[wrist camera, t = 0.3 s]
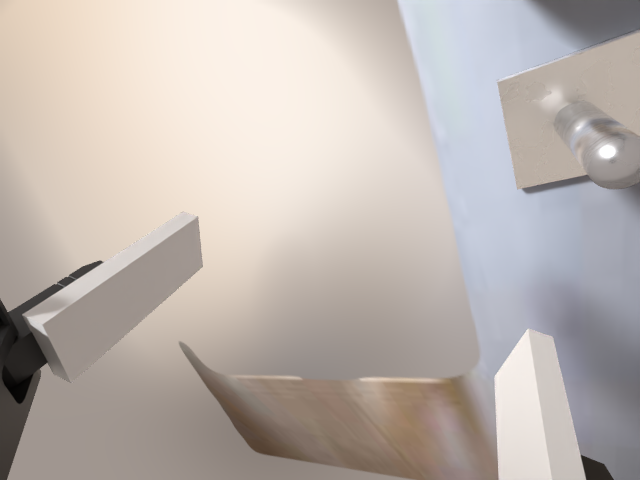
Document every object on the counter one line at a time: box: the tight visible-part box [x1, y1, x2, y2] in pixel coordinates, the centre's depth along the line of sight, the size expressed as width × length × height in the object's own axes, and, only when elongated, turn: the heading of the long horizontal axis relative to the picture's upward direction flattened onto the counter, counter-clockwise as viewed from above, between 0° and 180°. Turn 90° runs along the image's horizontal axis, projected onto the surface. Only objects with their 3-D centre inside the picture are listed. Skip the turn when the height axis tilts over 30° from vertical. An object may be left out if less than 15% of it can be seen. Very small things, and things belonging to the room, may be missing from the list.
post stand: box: [497, 29, 640, 189], centre depth 25 cm, size 10×10×13 cm
